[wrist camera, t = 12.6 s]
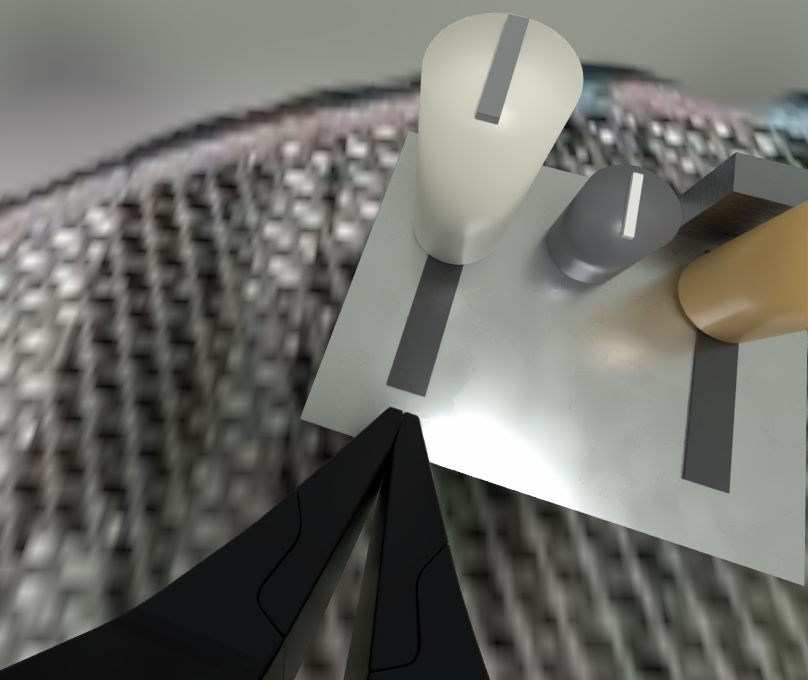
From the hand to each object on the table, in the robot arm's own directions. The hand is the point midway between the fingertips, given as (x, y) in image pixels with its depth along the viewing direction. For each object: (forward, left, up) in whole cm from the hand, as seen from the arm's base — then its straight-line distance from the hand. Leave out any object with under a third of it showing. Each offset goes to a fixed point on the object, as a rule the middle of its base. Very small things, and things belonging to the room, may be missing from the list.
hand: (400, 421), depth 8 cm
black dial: (+12, 0, -5) cm, 13 cm away
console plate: (+9, -2, -6) cm, 11 cm away
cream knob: (+8, +5, -5) cm, 11 cm away
